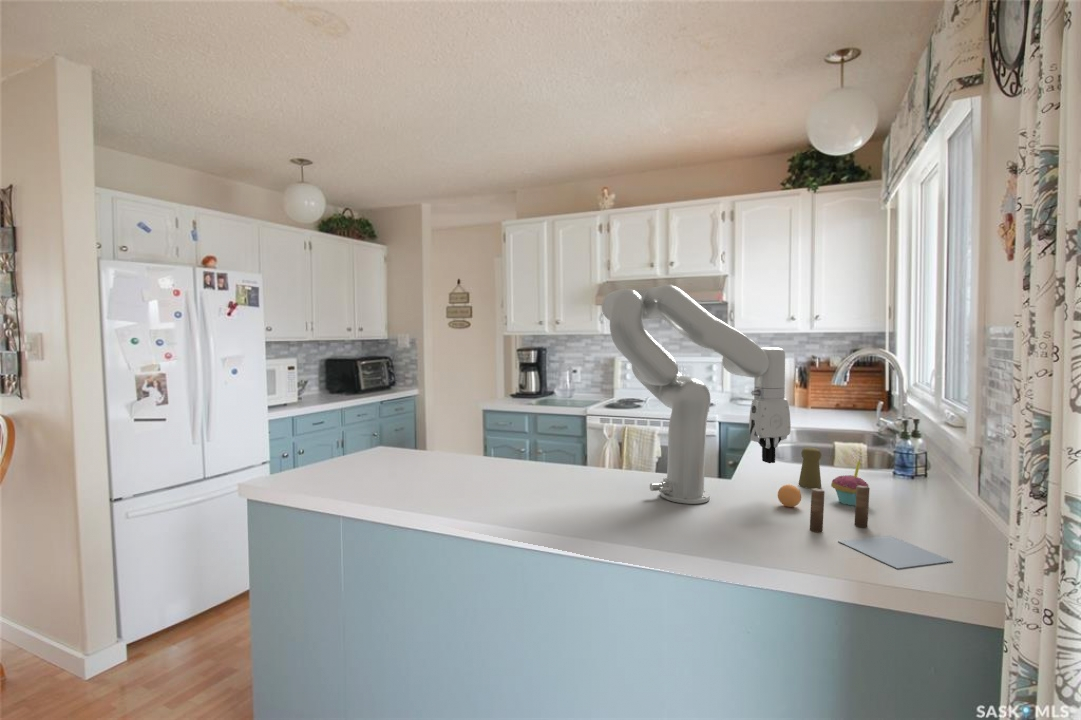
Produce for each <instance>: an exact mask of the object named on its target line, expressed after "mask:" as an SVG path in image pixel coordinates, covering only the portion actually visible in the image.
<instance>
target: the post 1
mask: <svg viewBox="0 0 1081 720" xmlns="http://www.w3.org/2000/svg"><path fill="white" fill-rule="evenodd" d="M810 495H811V496H810V514H809V515H810V516H809V531H811V532H813V531H814V533H823V532H822V531H823V530H824V512H825V510H824V509H825V490H823V489H821V488H819V489H811V494H810Z"/></svg>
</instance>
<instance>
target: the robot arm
mask: <svg viewBox="0 0 1081 720" xmlns="http://www.w3.org/2000/svg"><path fill="white" fill-rule="evenodd" d="M601 311H602V315H604V317H605V318H606V319H607V320H609V331H610V335H611V336H610V337H611V339H612V340H611V341H612V342H613V344H614V345H615V347H616V348H617V350H618V351H619V352H620V353H621V354H622V355H623V357H624V358H626V359H627V361H628V362H629V363H630V364H631V371H632V373H633V375H634V377H635V378H636V379H637V380H638V382H639V383H640V384H641V385H642V386H643V387H645V388H646V389H647V390H648V392H649V393H651V394H652V395H653V396H654V397H655V398H656V399H657V400H658V401H660V402H661V403H662V404H663V405H664V406H666V407H667V408H669V409H671V414H670V418H669V421H668V432H667V437H668V438H667V441H668V442H667V468H666V469H667V470H666V478H665V477H664V478H662V481H660V483H659V482H658V483H657V482H654V483H650V484H649V490H650V492H654V491H655V492H657V491H658V492H659V493H660V494H659V495H660V497H662V498H663V499H665V500H667V501H670V502H674V503H679V504H686V505H687V504H688V505H697V504H699V505H700V504H704V503H706V502H709V501H710V499H711V498H710V497H711V495H710V493H709V492H707V491H706V490H705V469H706V468H705V467H706V445H707V444H706V439H707V437H706V436H707V423H708V422H707V421H708V416H709V413H710V412H709V411H710V407H711V394H710V390H709V388H708V386H707V385H706V384H705V383H704V382H703V381H701V380H699V379H698V378H695V377H691V376H686V375H683V374H682V373H680V372H679V366H678V365H679V364H678V362H677V361H676V359H675V358H674V357H673V355H672V354H671V353H670V352H668V351H667V350H666V349H665V348H664V347H663V346H662V345H661V344H660V343H659V342H658V341H657V340H656V339H655V338H654V337H653V336H652V335H651V334H650V333H649V332H648V331H647V330H646V328H645V326H644V323H643V321H644V320H645V321H646V320H652V319H660V318H661V319H663V320H664V321H665V322H667V324H669V325H670V326H671V327H673V328H674V329H675V330H677V331H678V332H679V333H681V334H682V336H684V337H685V338H686V339H688V340H689V341H691V342H692V343H693V344H695V345H697V346H699V347H702V348H705V349H708V350H710V351H713V352H715V353H716V354H719V355H720V356H722V359H721V360H722V361H721V362H722V366H723V368H724V369H725V370H726V371H727V372H728V373H730V374H732V375H735V376H740V377H747V378H754V379H753V380H754V385H753V386H754V389H753V390H751V392H750V393H751V394H750V395H752V396H753V398H752V400H751V405H750V410H749V419H748V421H749V422H748V423H749V424H748V430H749V431H748V432H749V434H750V439H749V440H750V441H752V442H755V443H758V444H759V446H760V447H761V460H762V462H765V463H767V464H774V463H776V449H777V448H778V447H779V444H780V442H781V441H783V440H784V441H785V440H786V439H787V438H788V436H790V435H791V430H792V429H791V428H792V427H791V425H792V424H791V412H790V405H789V401H788V398H786V397H785V396H786V395H785V393H786V392H785V391H786V388H785V387H786V386H785V385H786V383H785V382H786V352H785V350H784V349H783V348H781V347H760V346H759V345H758V344H757V343H755V341H754V340H752V339H750V338H749V337H748V336H747V335H745V334H743V333H742V332H740V331H739V330H737V329H736V328H734V327H732V326H730V325H729V324H727V323H726V322H724V321H722V320H721V319H719V318H717V317H716V316H715V315H713V314H711V313H710V312H709V311H707V310H706V308H704V307H703V306H702V305H700V304H699V303H698V302H697V301H695V300H694V299H693V298H692V297H690V296H689V295H688V294H687V293H686V292H685V291H683V290H682V289H680V288H679V287H678V286H675V285H673V284H664V285H658V286H655V287H647V288H641V289H639V288H638V289H637V288H636V289H631V288H622V289H618V290H613V291H612V292H608V293H607V294H606V296H605V297H603V300H602V302H601Z"/></svg>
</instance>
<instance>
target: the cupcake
mask: <svg viewBox="0 0 1081 720" xmlns="http://www.w3.org/2000/svg"><path fill="white" fill-rule="evenodd" d="M861 459H862V458H859V460H857V463H856V467H855V470H854V475H839V476H837V477H835V478H833V479H832V480H831V485H830V487H831V488H833V489H834V490H835V492H836V495H837V498H838V502H839V503H840V502H841V503H840V504H843V505H846V504H848V505H847V506H856V487H857V486H867V487H870V485H869V483H868V482H867V481H866V480H864V479H862V478H860V477H858V473H859V469H860V465H861Z"/></svg>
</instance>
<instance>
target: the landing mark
mask: <svg viewBox="0 0 1081 720" xmlns="http://www.w3.org/2000/svg"><path fill="white" fill-rule="evenodd" d="M838 543H839V544H841V545H844V546H846V547H849V548H850V549H852V550H855V551H857V552H859V553H861V554H863V555H865V556H868V557H870V558H872V559H873V560H877V562H878V561H879V562H881V563H882V564H884V565H888V566H889V567H892V568H893V569H896V570H902V569H909V568H915V567H926V566H932V565H940V564H946V563H947V562H948V563H953V562H954V560H952V559H950V558H948V557H944V556H942V555H939V554H937V553H934V552H932V551H930V550H927V549H924V548H922V547H919V546H917V545H914V544H913V543H910V542H907V541H905V540H902V539H900V538H897V537H895V536H893V535H882V536H873V537H863V538H854V539H846V540H838Z"/></svg>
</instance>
